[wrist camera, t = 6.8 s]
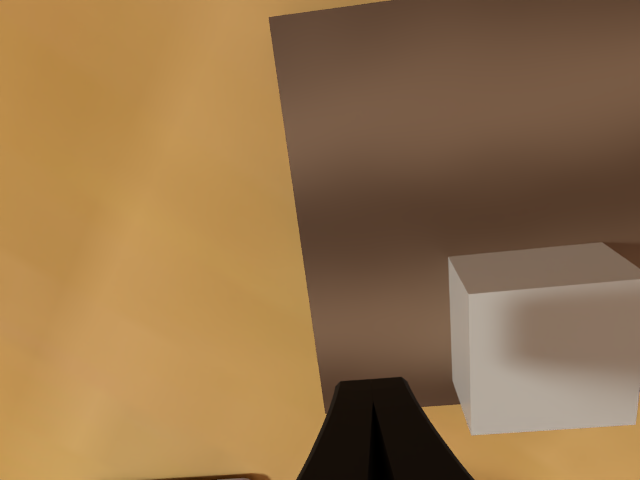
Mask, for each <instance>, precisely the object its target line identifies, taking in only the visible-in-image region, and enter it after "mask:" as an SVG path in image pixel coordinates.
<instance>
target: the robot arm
mask: <svg viewBox="0 0 640 480" xmlns="http://www.w3.org/2000/svg"><path fill="white" fill-rule="evenodd" d="M219 480H250V479H248V478H235V479H219ZM296 480H474V479H473V478H472V476H471V475H470V474H469V473H468V472H467V470H466V469H465V468H464V467H463V465H462V464H461V463H460V462H459V460H458V459H457V458H456V456H455V455H454V454H453V452H452V451H451V450H450V448H449V447H448V446H447V444H446V443H445V442H444V440H443V439H442V437H441V436H440V435H439V433H438V432H437V431H436V429H435V428H434V426H433V425H432V423H431V422H430V420H429V419H428V417H427V416H426V414H425V413H424V411H423V409H422V408H421V406H420V404H419V403H418V401H417V399H416V398H415V396H414V394H413V392H412V390H411V388H410V386H409V384H408V381H406V380H405V379H404V378H403V377H391V378H377V379H363V380H349V381H340V382H339V383H338V384H337V385H336V386H335V390H334V394H333V398H332V401H331V404H330V407H329V410H328V413H327V415H326V418H325V420H324V423H323V425H322V428H321V430H320V432H319V435H318V437H317V439H316V441H315V443H314V445H313V448H312V450H311V452H310V454H309V456H308V458H307V460H306V462H305V464H304V466H303V468H302V470H301V472H300V474H299V476H298V477H297V479H296Z"/></svg>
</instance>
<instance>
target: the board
mask: <svg viewBox="0 0 640 480" xmlns="http://www.w3.org/2000/svg"><path fill="white" fill-rule="evenodd" d="M269 23H270V30H271V37H272V44H273V51H274V58H275V65H276V72H277V79H278V86H279V93H280V100H281V107H282V114H283V121H284V128H285V135H286V142H287V149H288V156H289V163H290V170H291V177H292V184H293V191H294V198H295V205H296V212H297V219H298V226H299V233H300V240H301V247H302V254H303V261H304V268H305V275H306V282H307V289H308V296H309V303H310V310H311V317H312V324H313V331H314V338H315V345H316V352H317V359H318V366H319V373H320V380H321V387H322V394H323V401H324V408H325V414H327V413H328V410H329V407H330V404H331V401H332V398H333V394H334V390H335V386H336V385H337V384H338V383H339V382H340V381H349V380H363V379H377V378H391V377H403V378H404V379H405V380H406V381H408V384H409V386H410V388H411V390H412V392H413V394H414V396H415V398H416V399H417V401H418V403H419V404H420V406H421V407H427V406H441V405H455V404H460V401H459V398H458V395H457V392H456V389H455V387H454V384H453V381H452V352H451V323H450V295H449V266H448V257H451V256H461V255H472V254H482V253H493V252H504V251H514V250H525V249H535V248H546V247H557V246H567V245H578V244H588V243H599V242H602V243H604V244H605V245H607V246H608V247H610V248H611V249H612V250H614V251H615V252H617V253H618V254H620V255H621V256H622V257H624V258H625V259H627V260H628V261H630V262H631V263H632V264H634V265H635V266H637V267H638V268H640V0H391V1H384V2H376V3H369V4H362V5H355V6H347V7H340V8H333V9H326V10H318V11H311V12H304V13H296V14H289V15H282V16H275V17H269ZM639 392H640V391H639Z"/></svg>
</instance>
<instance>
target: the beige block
mask: <svg viewBox="0 0 640 480" xmlns="http://www.w3.org/2000/svg"><path fill="white" fill-rule="evenodd" d="M448 266H449V295H450V323H451V352H452V381H453V384H454V387H455V389H456V392H457V395H458V398H459V401H460V404H461V407H462V410H463V413H464V416H465V418H466V421H467V424H468V427H469V430H470V433H471V435H482V434H498V433H513V432H529V431H544V430H559V429H575V428H590V427H606V426H621V425H635V424H636V416H637V408H638V400H639V391H640V268H638V267H637V266H635V265H634V264H632V263H631V262H630V261H628V260H627V259H625V258H624V257H622V256H621V255H620V254H618V253H617V252H615V251H614V250H612V249H611V248H610V247H608V246H607V245H605V244H604V243H602V242H599V243H588V244H578V245H567V246H557V247H546V248H535V249H525V250H514V251H504V252H493V253H482V254H472V255H461V256H451V257H448Z"/></svg>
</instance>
